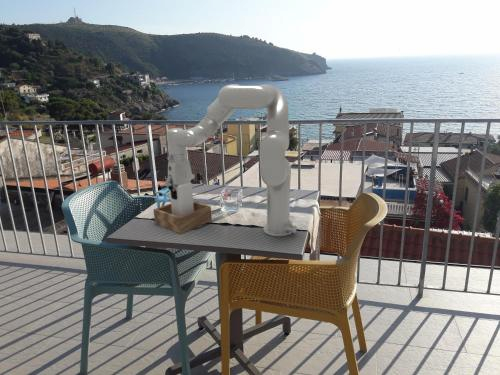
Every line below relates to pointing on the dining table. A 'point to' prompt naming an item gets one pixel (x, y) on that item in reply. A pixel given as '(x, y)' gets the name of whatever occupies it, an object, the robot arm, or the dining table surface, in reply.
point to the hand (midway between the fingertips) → (181, 196)
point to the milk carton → (182, 200)
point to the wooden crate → (182, 218)
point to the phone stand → (162, 197)
